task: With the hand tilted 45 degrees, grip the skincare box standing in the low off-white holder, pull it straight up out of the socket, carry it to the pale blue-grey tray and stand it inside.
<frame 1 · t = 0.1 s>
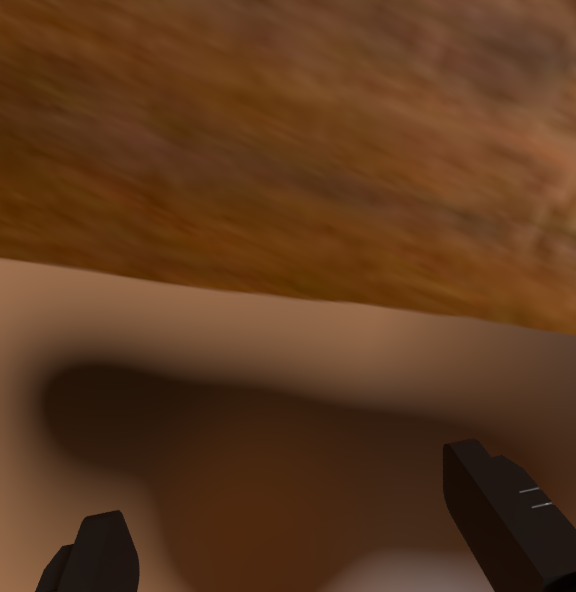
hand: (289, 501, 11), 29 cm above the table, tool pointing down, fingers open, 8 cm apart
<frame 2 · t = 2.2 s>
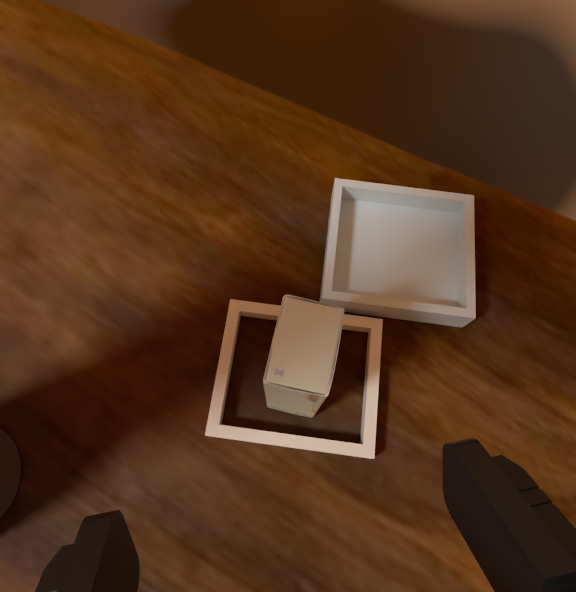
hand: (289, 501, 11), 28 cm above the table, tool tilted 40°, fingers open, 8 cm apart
skincare box: (297, 377, 40), resting in holder
tray: (393, 257, 44), on the table
holder: (297, 377, 40), on the table
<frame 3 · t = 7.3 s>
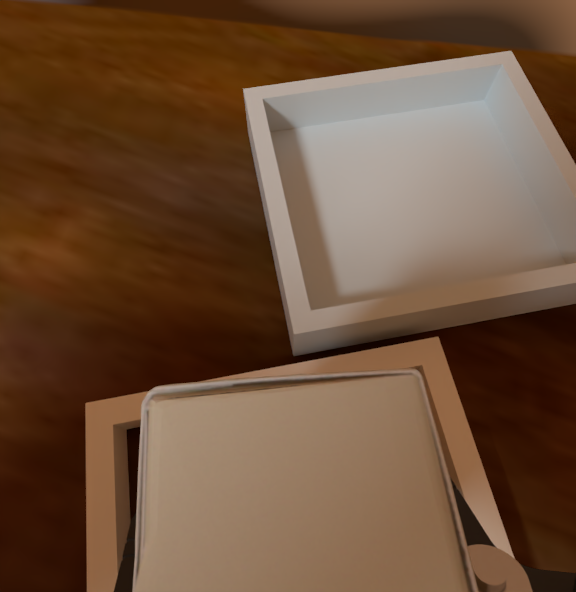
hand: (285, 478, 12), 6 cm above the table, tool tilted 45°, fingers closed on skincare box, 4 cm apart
skincare box: (296, 535, 17), resting in holder, touching gripper
tray: (403, 210, 22), on the table
holder: (296, 535, 16), on the table
when the fingers open (8 cm above the table, at t = 15.6 s): skincare box drops 1 cm, resting on tray.
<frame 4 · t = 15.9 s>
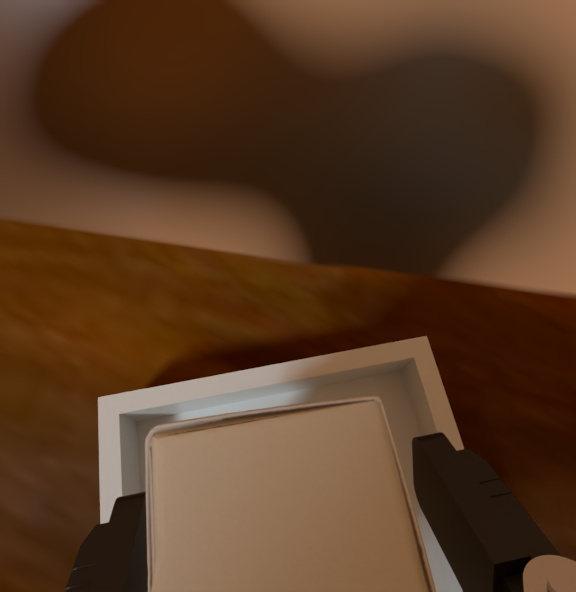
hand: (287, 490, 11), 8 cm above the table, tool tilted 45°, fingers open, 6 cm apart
skincare box: (292, 538, 18), point 1 cm above the table, touching tray
tray: (295, 530, 18), on the table
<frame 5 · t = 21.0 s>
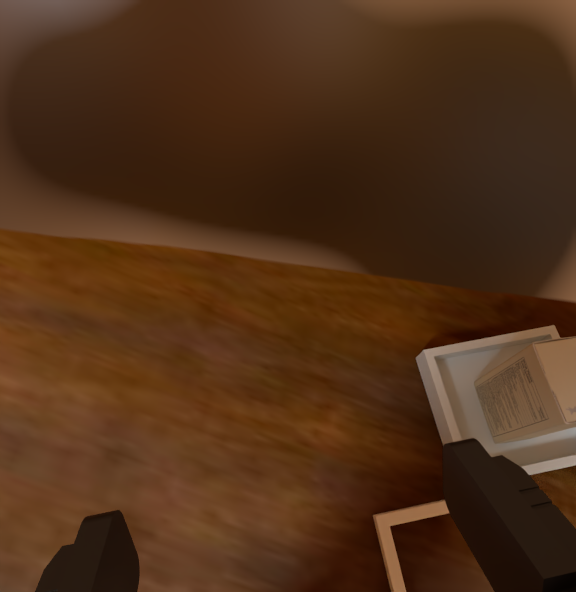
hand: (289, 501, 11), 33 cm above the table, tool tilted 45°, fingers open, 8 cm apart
skincare box: (502, 407, 43), point 1 cm above the table, touching tray
tray: (500, 406, 44), on the table
holder: (469, 574, 38), on the table
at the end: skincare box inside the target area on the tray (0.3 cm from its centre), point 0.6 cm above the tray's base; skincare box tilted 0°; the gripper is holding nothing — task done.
